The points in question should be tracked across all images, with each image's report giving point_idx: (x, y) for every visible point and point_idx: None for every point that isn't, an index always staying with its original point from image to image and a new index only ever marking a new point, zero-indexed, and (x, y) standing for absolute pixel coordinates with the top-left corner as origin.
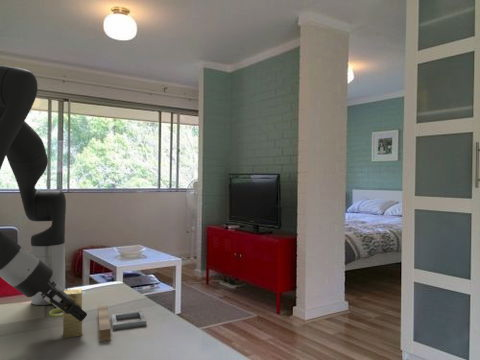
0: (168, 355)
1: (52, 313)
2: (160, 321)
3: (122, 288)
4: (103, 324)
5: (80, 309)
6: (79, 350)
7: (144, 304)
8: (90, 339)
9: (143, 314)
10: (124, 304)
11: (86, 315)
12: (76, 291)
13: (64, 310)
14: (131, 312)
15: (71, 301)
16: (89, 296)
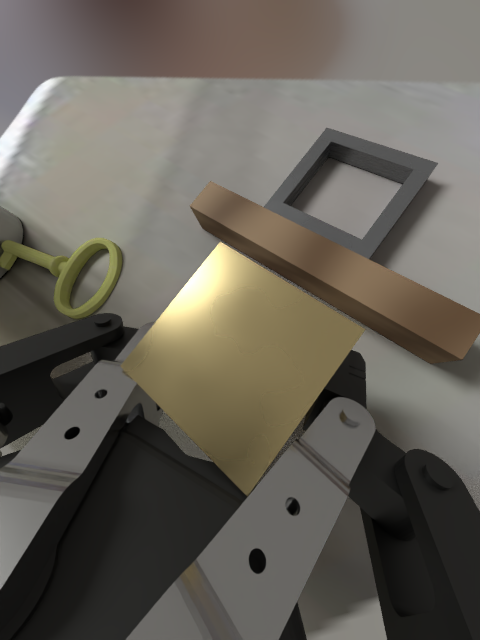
0: None
1: (74, 309)
2: (430, 132)
3: (94, 88)
4: (400, 304)
5: (347, 369)
6: (459, 474)
7: (246, 100)
8: (379, 370)
9: (364, 140)
10: (194, 136)
11: None
12: (260, 325)
13: (430, 583)
14: (308, 157)
15: (443, 520)
16: (61, 167)
